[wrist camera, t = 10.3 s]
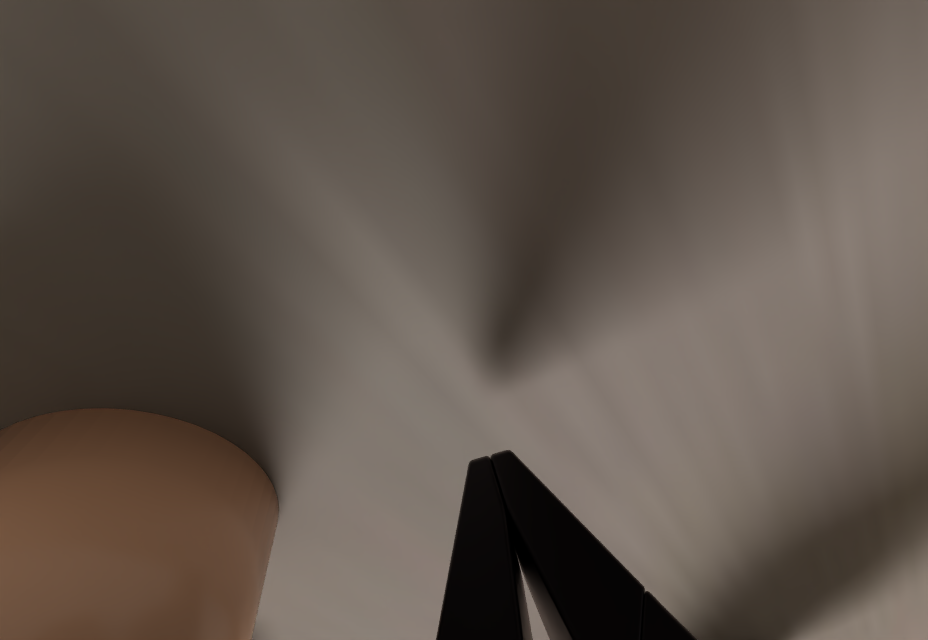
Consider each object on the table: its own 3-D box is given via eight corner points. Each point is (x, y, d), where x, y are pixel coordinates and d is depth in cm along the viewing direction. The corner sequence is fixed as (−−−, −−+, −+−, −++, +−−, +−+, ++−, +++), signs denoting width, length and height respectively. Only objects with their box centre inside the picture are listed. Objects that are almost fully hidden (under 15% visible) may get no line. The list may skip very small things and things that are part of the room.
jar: (201, 365, 8) (-2, 696, 4) (322, 549, 11) (288, 841, 7) (-140, 457, 8) (-792, 933, 3) (85, 619, 11) (-105, 971, 7)
